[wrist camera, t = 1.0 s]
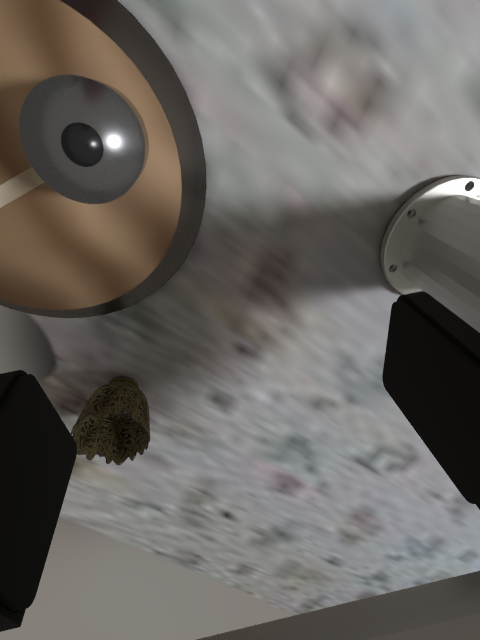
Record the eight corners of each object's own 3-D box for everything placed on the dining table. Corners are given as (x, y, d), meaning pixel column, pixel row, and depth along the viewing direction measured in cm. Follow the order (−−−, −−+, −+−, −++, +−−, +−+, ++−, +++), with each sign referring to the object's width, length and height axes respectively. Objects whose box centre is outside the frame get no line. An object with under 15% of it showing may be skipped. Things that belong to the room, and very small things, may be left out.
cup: (80, 395, 40) (57, 453, 33) (106, 351, 37) (87, 405, 31) (139, 415, 43) (129, 472, 36) (167, 376, 40) (162, 430, 33)
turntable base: (67, -163, 19) (60, -178, 18) (254, 239, 33) (256, 243, 32) (-260, 76, 23) (-281, 75, 22) (32, 350, 36) (27, 357, 35)
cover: (109, 57, 22) (93, 48, 18) (167, 164, 26) (163, 173, 22) (20, 112, 23) (-11, 113, 19) (88, 207, 26) (73, 223, 23)
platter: (47, -119, 19) (0, -194, 14) (227, 235, 31) (234, 258, 26) (-236, 85, 22) (-354, 79, 17) (27, 336, 34) (1, 374, 29)
